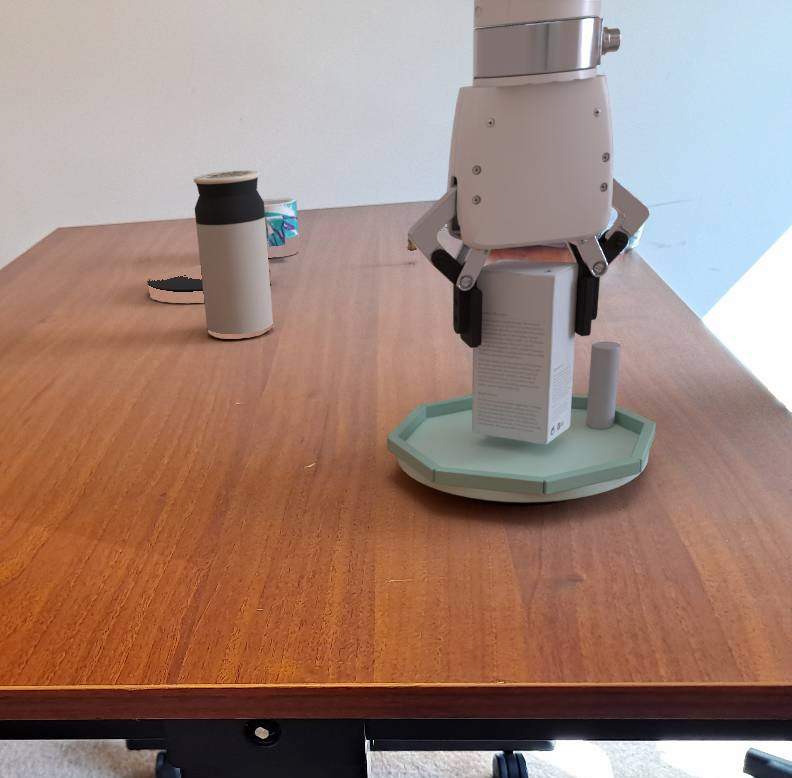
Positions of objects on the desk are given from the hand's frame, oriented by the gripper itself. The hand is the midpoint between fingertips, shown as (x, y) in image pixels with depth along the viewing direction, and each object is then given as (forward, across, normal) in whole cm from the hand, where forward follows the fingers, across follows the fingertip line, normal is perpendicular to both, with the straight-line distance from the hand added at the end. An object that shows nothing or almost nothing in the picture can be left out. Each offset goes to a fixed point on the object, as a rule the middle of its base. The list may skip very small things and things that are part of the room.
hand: (523, 335), depth 69 cm
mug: (+11, +10, -97) cm, 98 cm away
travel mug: (+11, +18, -50) cm, 54 cm away
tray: (+9, 0, 0) cm, 9 cm away
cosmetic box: (+7, 0, 0) cm, 7 cm away
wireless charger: (+11, +21, -76) cm, 80 cm away
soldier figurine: (+11, -10, -80) cm, 81 cm away
